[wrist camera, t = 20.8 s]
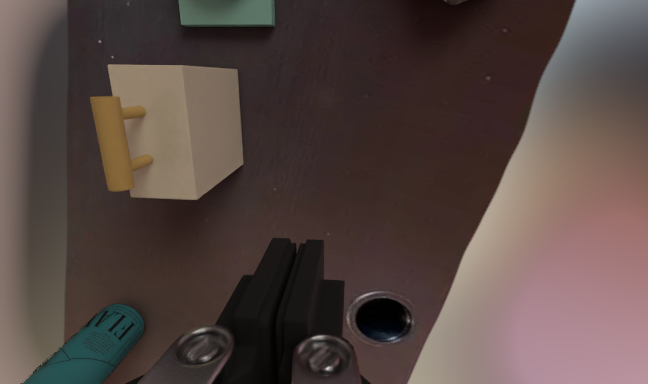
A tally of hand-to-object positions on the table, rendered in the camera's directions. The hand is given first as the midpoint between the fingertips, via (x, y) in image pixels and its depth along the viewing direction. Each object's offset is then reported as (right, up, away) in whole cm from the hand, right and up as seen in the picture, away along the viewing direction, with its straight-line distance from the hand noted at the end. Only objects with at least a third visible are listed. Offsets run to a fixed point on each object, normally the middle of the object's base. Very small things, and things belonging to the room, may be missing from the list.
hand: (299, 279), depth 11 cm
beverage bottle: (-26, -14, +36) cm, 46 cm away
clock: (-9, +8, +18) cm, 21 cm away
